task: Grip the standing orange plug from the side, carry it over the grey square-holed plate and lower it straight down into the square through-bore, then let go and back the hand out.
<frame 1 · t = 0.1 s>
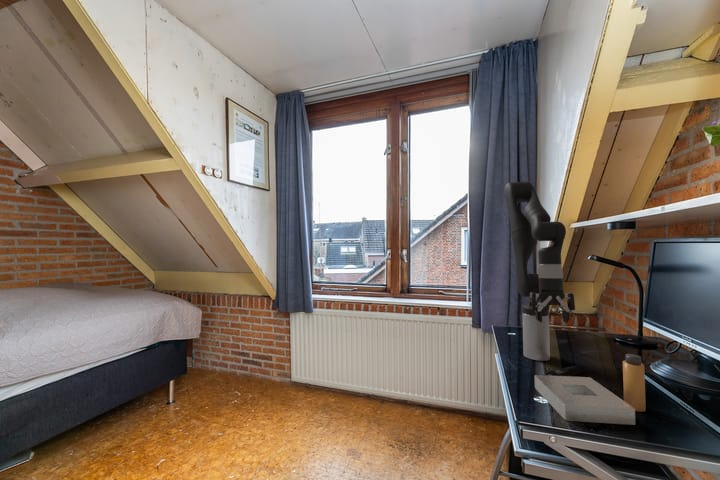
hand: (552, 322, 108), 17 cm above the table, tool pointing down, fingers open, 8 cm apart
electric trimmer: (563, 377, 103), on the table
plug: (634, 407, 83), on the table
grey square-holed plate: (579, 404, 85), on the table
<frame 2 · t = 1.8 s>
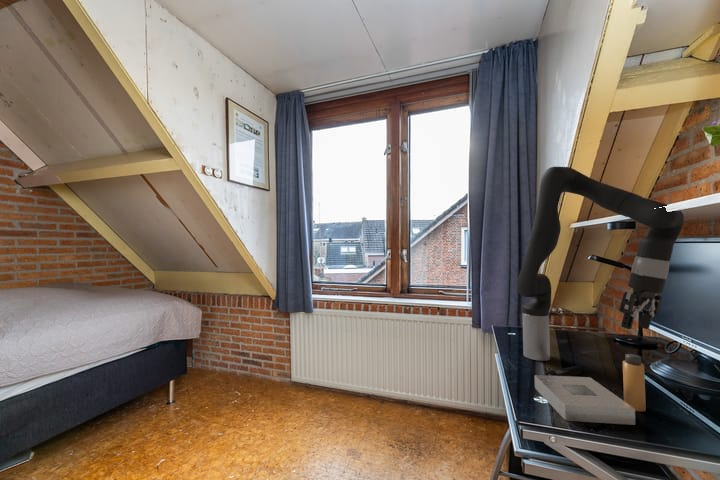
hand: (634, 328, 88), 20 cm above the table, tool pointing down, fingers open, 8 cm apart
nothing on the table moved.
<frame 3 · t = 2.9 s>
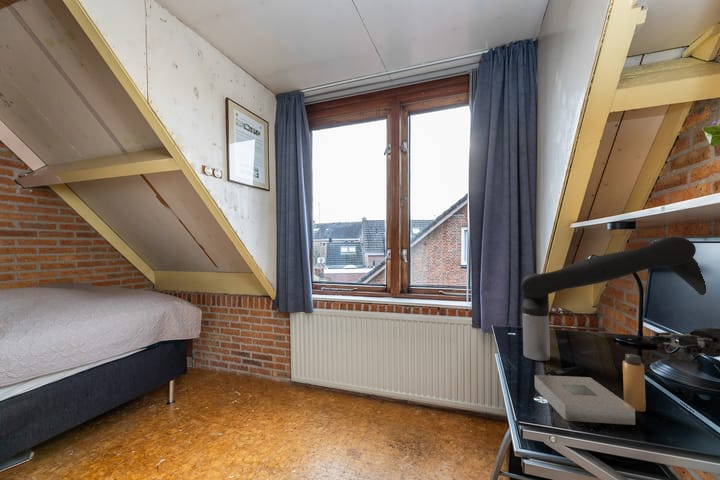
hand: (667, 345, 84), 16 cm above the table, tool horizontal, fingers open, 8 cm apart
nothing on the table moved.
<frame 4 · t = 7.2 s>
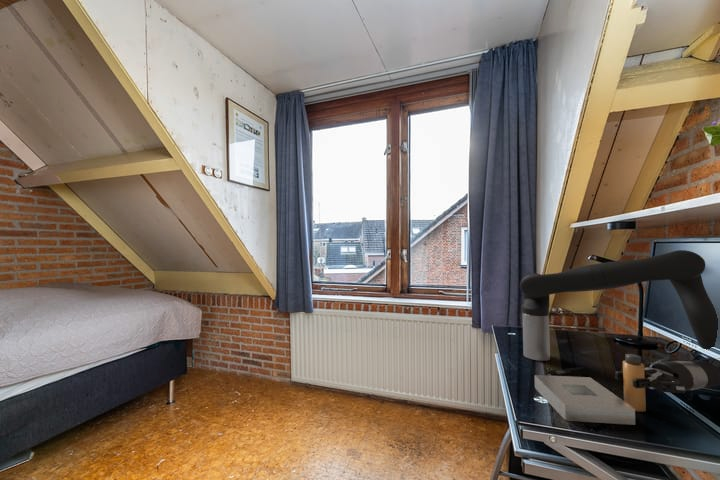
hand: (625, 379, 83), 8 cm above the table, tool horizontal, fingers closed on plug, 4 cm apart
plug: (634, 407, 83), on the table, touching gripper
when the fingers open (9 cm above the table, at t = 12.1 s): plug drops 1 cm, resting in grey square-holed plate.
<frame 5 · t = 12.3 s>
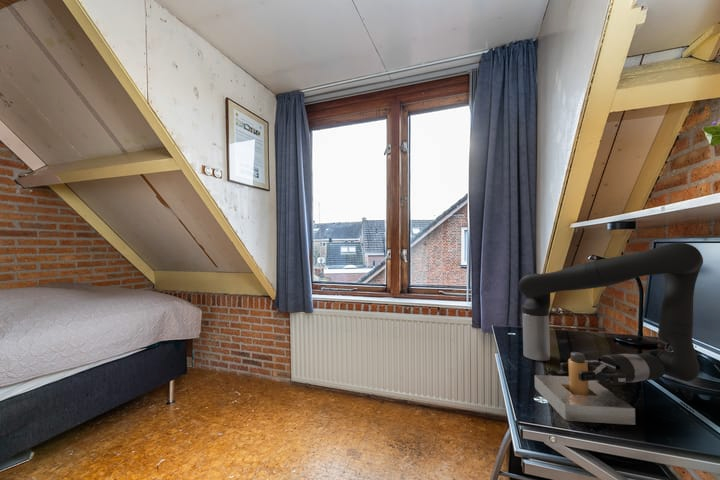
hand: (570, 371, 85), 9 cm above the table, tool horizontal, fingers open, 6 cm apart
plug: (579, 404, 85), resting in grey square-holed plate
everything else where it was.
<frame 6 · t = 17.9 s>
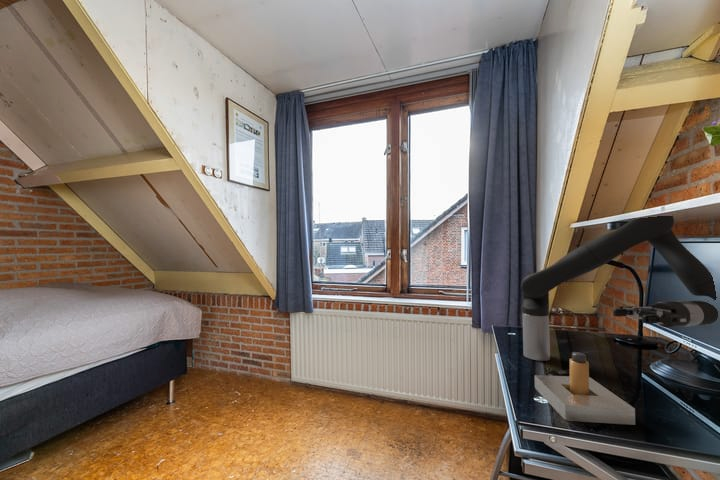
hand: (628, 315, 88), 24 cm above the table, tool horizontal, fingers open, 8 cm apart
at the end: plug 0.1 cm off-centre on the grey square-holed plate, point 0.0 cm above the grey square-holed plate's base; plug tilted 1°; the gripper is holding nothing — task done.
